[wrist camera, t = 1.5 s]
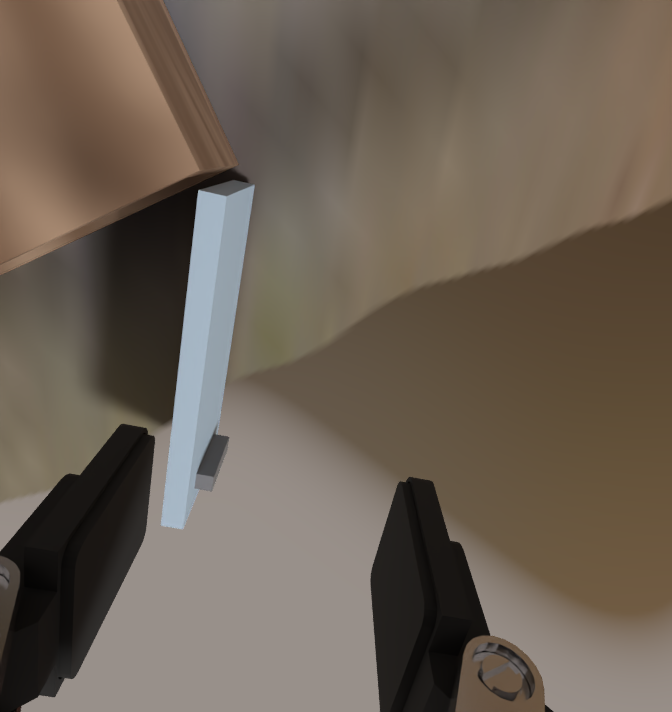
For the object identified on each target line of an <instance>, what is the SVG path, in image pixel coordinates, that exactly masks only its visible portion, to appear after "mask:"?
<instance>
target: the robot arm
mask: <svg viewBox="0 0 672 712" xmlns="http://www.w3.org/2000/svg"><path fill="white" fill-rule="evenodd" d="M154 445H155V437H154V436H151V435H148V431H147V428H143V427H137V426H132V425H127V424H121V425H120V426H119V427H118V428H117V429H116V431H115V432H114V433H113V434H112V436H111V437H110V438H109V439H108V441H107V442H106V443H105V444H104V446H103V447H102V448H101V450H100V451H99V452H98V453H97V455H96V456H95V457H94V458H93V460H92V461H91V462H90V463H89V465H88V466H87V467H86V468H85V470H84V471H83V472H82V473H81V475H75V474H67V475H65V476H64V477H63V478H62V479H61V480H60V481H59V483H58V484H57V485H56V486H55V487H54V488H53V490H52V491H51V492H50V493H49V494H48V496H47V497H46V498H45V499H44V500H43V502H42V503H41V504H40V505H39V507H37V509H36V510H35V511H34V512H33V514H32V515H31V516H30V517H29V518H28V519H27V521H26V522H25V523H24V524H23V525H22V527H21V528H20V529H19V530H18V531H17V533H16V534H15V535H14V536H13V537H12V538H11V540H10V541H9V542H8V543H7V544H6V546H5V547H4V548H3V549H2V550H1V551H0V712H21V706H22V705H24V704H26V703H28V702H29V701H31V700H33V699H35V698H37V697H38V696H39V695H42V696H49V697H55V696H56V694H57V692H58V690H59V688H60V686H61V684H62V682H63V681H64V678H69V679H73V678H74V677H75V676H76V674H77V673H78V671H79V669H80V667H81V665H82V663H83V661H84V659H85V657H86V655H87V653H88V651H89V649H90V647H91V645H92V643H93V641H94V639H95V637H96V635H97V633H98V631H99V629H100V627H101V624H102V623H103V621H104V619H105V617H106V615H107V613H108V611H109V609H110V607H111V605H112V603H113V601H114V599H115V597H116V595H117V593H118V591H119V589H120V587H121V585H122V583H123V581H124V579H125V577H126V575H127V573H128V571H129V569H130V567H131V564H132V563H133V561H134V558H135V556H136V555H137V553H138V550H139V548H140V547H141V544H142V542H143V539H144V536H145V532H146V525H147V515H148V505H149V494H150V485H151V475H152V464H153V454H154ZM371 595H372V609H373V622H374V635H375V648H376V662H377V674H378V687H379V700H380V712H553V711H552V710H551V709H550V708H549V707H547V706H546V705H545V703H544V701H545V700H544V686H543V681H542V677H541V675H540V673H539V671H538V670H537V667H536V666H535V665H534V663H533V662H532V661H531V660H530V658H529V657H528V656H527V655H526V654H525V653H524V652H523V651H521V650H520V649H519V648H518V647H517V646H515V645H513V644H512V643H510V642H508V641H506V640H504V639H501V638H498V637H495V636H490V633H489V630H488V627H487V623H486V620H485V617H484V614H483V610H482V607H481V604H480V601H479V598H478V595H477V592H476V588H475V585H474V582H473V579H472V576H471V572H470V569H469V566H468V563H467V560H466V556H465V553H464V550H463V548H462V546H461V544H460V543H458V542H454V541H450V539H449V536H448V532H447V529H446V525H445V522H444V519H443V515H442V512H441V508H440V504H439V501H438V498H437V494H436V491H435V487H434V484H433V482H432V481H429V480H424V479H418V478H413V477H409V478H408V479H407V481H406V482H399V483H398V485H397V488H396V492H395V495H394V498H393V501H392V505H391V508H390V511H389V515H388V518H387V521H386V524H385V527H384V531H383V534H382V537H381V541H380V544H379V547H378V551H377V554H376V557H375V560H374V564H373V567H372V572H371Z"/></svg>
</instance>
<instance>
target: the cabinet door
mask: <svg viewBox="0 0 672 712" xmlns="http://www.w3.org/2000/svg"><path fill="white" fill-rule="evenodd" d="M254 187H255V185H254V184H249V183H245V182H240V181H236V180H232V181H228V182H225V183H221V184H218V185H214V186H211V187H207V188H204V189H200V190H198V197H197V206H196V215H195V224H194V233H193V242H192V251H191V260H190V269H189V278H188V287H187V296H186V305H185V314H184V323H183V332H182V341H181V350H180V359H179V368H178V377H177V386H176V395H175V404H174V413H173V422H172V431H171V440H170V449H169V458H168V467H167V476H166V484H165V494H164V502H163V512H162V521H161V526H166V527H173V528H178V529H183V528H184V526H185V523H186V521H187V518H188V516H189V513H190V511H191V509H192V506H193V504H194V501H195V499H196V496H197V494H198V491H199V489H201V490H206V491H212V490H213V487H214V484H215V482H216V479H217V476H218V474H219V471H220V468H221V465H222V463H223V460H224V457H225V455H226V452H227V448H228V441H229V437H227V436H221V435H218V428H219V421H220V415H221V408H222V401H223V395H224V388H225V381H226V375H227V368H228V361H229V354H230V348H231V341H232V334H233V328H234V321H235V314H236V307H237V301H238V294H239V287H240V281H241V274H242V267H243V260H244V254H245V247H246V240H247V234H248V227H249V220H250V213H251V207H252V200H253V193H254Z"/></svg>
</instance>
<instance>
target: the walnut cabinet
mask: <svg viewBox="0 0 672 712" xmlns="http://www.w3.org/2000/svg"><path fill="white" fill-rule="evenodd" d="M237 165H239V164H238V162H237V160H236V157H235V155H234V153H233V151H232V149H231V146H230V144H229V142H228V140H227V138H226V136H225V133H224V131H223V129H222V127H221V125H220V123H219V120H218V118H217V116H216V114H215V112H214V110H213V107H212V105H211V103H210V101H209V99H208V97H207V94H206V92H205V90H204V88H203V86H202V84H201V81H200V79H199V77H198V75H197V73H196V71H195V68H194V66H193V64H192V62H191V60H190V58H189V55H188V53H187V51H186V49H185V47H184V45H183V42H182V40H181V38H180V36H179V34H178V32H177V29H176V27H175V25H174V23H173V21H172V19H171V16H170V14H169V12H168V10H167V8H166V6H165V3H164V1H163V0H0V275H2V274H4V273H6V272H9V271H11V270H13V269H15V268H17V267H19V266H22V265H24V264H26V263H28V262H30V261H32V260H34V259H37V258H39V257H41V256H43V255H45V254H47V253H50V252H52V251H54V250H56V249H58V248H60V247H62V246H65V245H67V244H69V243H71V242H73V241H75V240H78V239H80V238H82V237H84V236H86V235H88V234H90V233H93V232H95V231H97V230H99V229H101V228H103V227H106V226H108V225H110V224H112V223H114V222H116V221H118V220H121V219H123V218H125V217H127V216H129V215H131V214H134V213H136V212H138V211H140V210H142V209H144V208H146V207H149V206H151V205H153V204H155V203H157V202H159V201H162V200H164V199H166V198H168V197H170V196H172V195H174V194H177V193H179V192H181V191H183V190H185V189H187V188H190V187H192V186H194V185H196V184H198V183H200V182H202V181H205V180H207V179H209V178H211V177H213V176H215V175H218V174H220V173H222V172H224V171H226V170H228V169H230V168H233V167H235V166H237Z"/></svg>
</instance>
